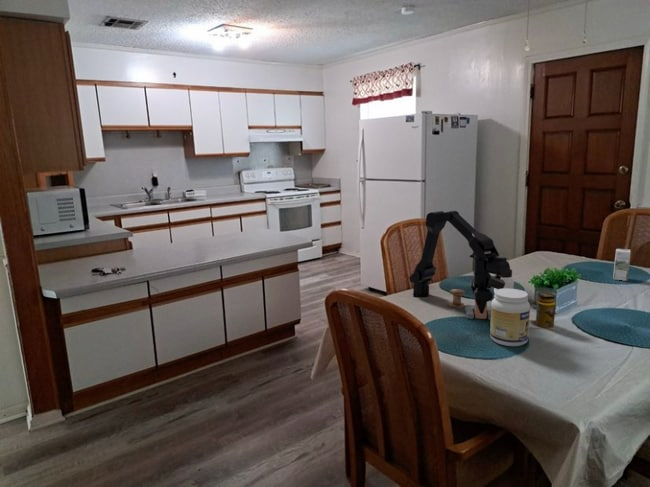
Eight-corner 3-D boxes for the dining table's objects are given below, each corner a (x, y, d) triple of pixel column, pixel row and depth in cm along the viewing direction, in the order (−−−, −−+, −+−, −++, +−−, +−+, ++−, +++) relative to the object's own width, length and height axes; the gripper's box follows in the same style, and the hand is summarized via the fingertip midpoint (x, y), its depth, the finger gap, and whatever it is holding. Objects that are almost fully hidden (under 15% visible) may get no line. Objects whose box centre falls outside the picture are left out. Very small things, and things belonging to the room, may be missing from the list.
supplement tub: (524, 350, 146) (527, 300, 142) (486, 343, 152) (488, 295, 149) (530, 336, 156) (533, 289, 152) (494, 330, 162) (496, 285, 159)
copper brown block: (475, 318, 174) (475, 303, 173) (474, 314, 178) (474, 300, 177) (486, 318, 173) (486, 303, 172) (484, 314, 177) (485, 300, 176)
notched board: (467, 318, 174) (467, 313, 173) (465, 309, 183) (465, 304, 183) (494, 319, 172) (494, 314, 171) (491, 310, 181) (491, 305, 181)
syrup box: (627, 278, 216) (630, 249, 213) (627, 281, 211) (630, 251, 208) (613, 277, 219) (616, 247, 216) (613, 280, 214) (616, 250, 211)
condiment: (556, 330, 161) (558, 298, 158) (530, 328, 163) (532, 296, 161) (552, 322, 168) (555, 291, 165) (528, 320, 170) (530, 290, 168)
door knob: (449, 308, 186) (450, 293, 184) (449, 303, 191) (449, 288, 190) (464, 308, 184) (465, 293, 183) (463, 303, 190) (464, 289, 189)
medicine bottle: (513, 297, 195) (515, 270, 193) (496, 297, 197) (497, 270, 194) (510, 292, 202) (511, 266, 200) (493, 291, 204) (494, 266, 201)
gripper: (508, 278, 161) (506, 319, 164) (500, 264, 179) (498, 301, 182) (475, 277, 164) (474, 317, 167) (471, 264, 181) (469, 300, 185)
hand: (480, 309), depth 175 cm, fingers open, 9 cm apart
